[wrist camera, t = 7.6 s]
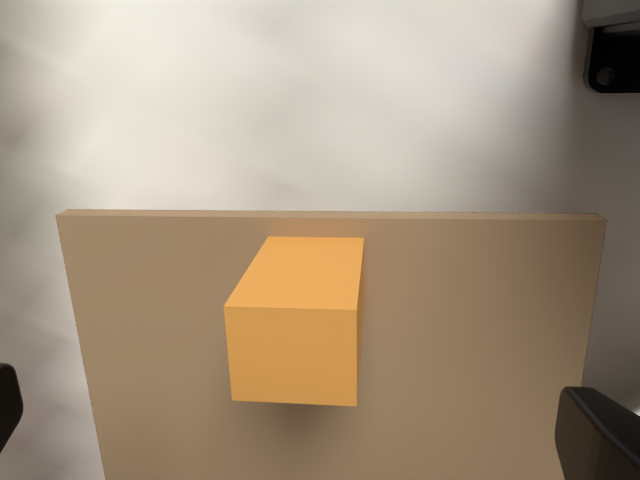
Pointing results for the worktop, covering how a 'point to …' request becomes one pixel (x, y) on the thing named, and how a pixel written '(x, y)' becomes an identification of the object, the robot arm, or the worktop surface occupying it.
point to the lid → (330, 340)
